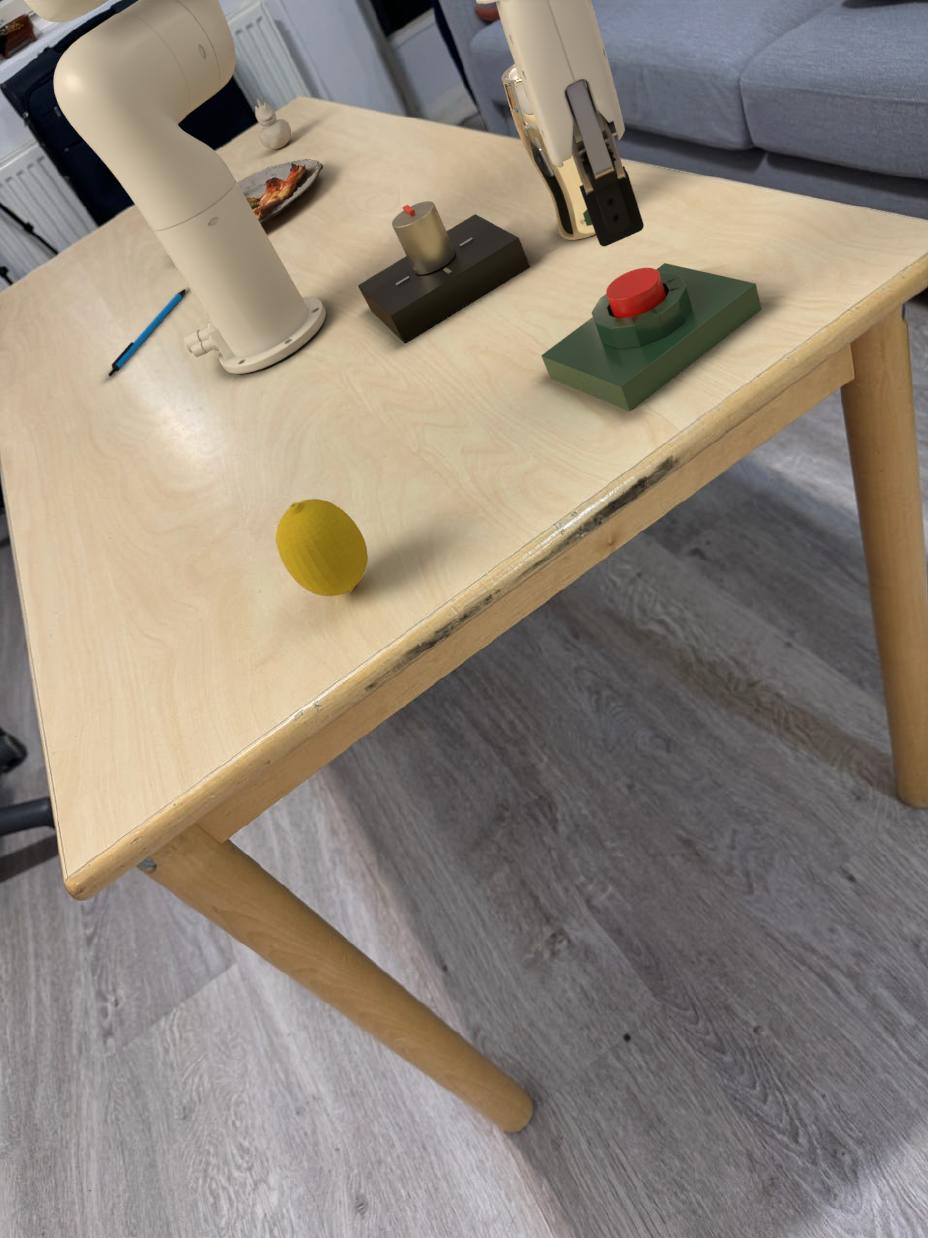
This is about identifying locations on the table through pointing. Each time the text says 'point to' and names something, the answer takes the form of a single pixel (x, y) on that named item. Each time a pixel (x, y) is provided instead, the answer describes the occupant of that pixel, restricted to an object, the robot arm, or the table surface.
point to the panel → (445, 279)
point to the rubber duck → (272, 127)
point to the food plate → (278, 186)
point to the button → (635, 292)
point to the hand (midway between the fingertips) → (620, 233)
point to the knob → (423, 237)
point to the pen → (145, 334)
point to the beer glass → (549, 164)
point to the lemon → (321, 547)
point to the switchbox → (651, 337)
